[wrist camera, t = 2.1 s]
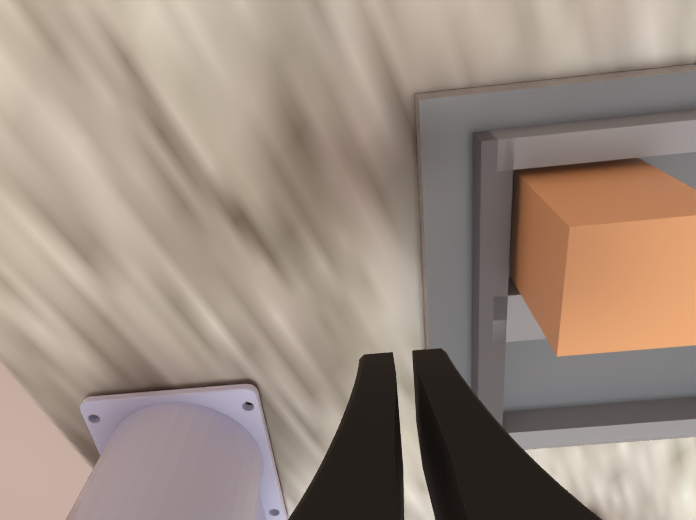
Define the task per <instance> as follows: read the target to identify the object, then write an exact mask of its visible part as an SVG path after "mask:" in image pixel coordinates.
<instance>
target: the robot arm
mask: <svg viewBox="0 0 696 520" xmlns="http://www.w3.org/2000/svg"><path fill="white" fill-rule="evenodd" d="M412 353H413V371H414V388H415V405H416V423H417V430H418V437H419V445H420V452H421V459H422V466H423V471H424V475H425V479H426V483H427V487H428V491H429V495H430V499H431V503H432V507H433V511H434V515H435V520H602V519H601V518H599V517H598V516H597V515H595V514H594V513H593V512H592V511H590V510H589V509H588V508H587V507H585V506H584V505H583V504H582V503H581V502H580V501H578V500H577V499H576V498H575V497H574V496H573V495H571V494H570V493H569V492H568V491H567V490H566V489H564V488H563V487H562V486H561V485H560V484H559V483H558V482H557V481H555V480H554V479H553V478H552V477H551V476H550V475H549V474H548V473H547V472H546V471H545V470H544V469H542V468H541V467H540V466H539V465H538V464H537V463H536V462H535V461H534V460H533V459H532V458H531V457H530V456H529V455H528V454H527V453H526V452H525V451H524V450H523V449H522V448H521V447H520V446H519V444H518V443H517V442H516V441H515V440H514V439H513V438H512V437H511V436H510V435H509V434H508V433H507V432H506V431H505V429H504V428H503V427H502V426H501V425H500V424H499V423H498V421H497V420H496V419H495V418H494V417H493V416H492V414H491V413H490V412H489V411H488V410H487V408H486V407H485V406H484V405H483V404H482V402H481V401H480V400H479V399H478V397H477V396H476V395H475V394H474V392H473V391H472V390H471V388H470V387H469V386H468V384H467V383H466V382H465V380H464V379H463V377H462V376H461V375H460V373H459V372H458V370H457V369H456V367H455V366H454V364H453V363H452V361H451V359H450V358H449V356H448V354H447V353H446V352H445V351H444V350H443V349H442V348H437V349H425V350H413V351H412ZM245 402H250V403H252V405H247V404H246V403H245ZM80 412H81V414H82V416H83V418H84V421H85V423H86V425H87V427H88V430H89V432H90V434H91V436H92V439H93V441H94V443H95V446H96V448H97V450H98V452H99V455H100V458H99V459H98V461H97V463H96V465H95V467H94V469H93V471H92V472H91V474H90V476H89V478H88V480H87V482H86V484H85V486H84V487H83V489H82V491H81V493H80V495H79V497H78V498H77V500H76V502H75V504H74V506H73V508H72V510H71V512H70V513H69V515H68V517H67V519H66V520H404V485H403V460H402V447H401V434H400V421H399V408H398V395H397V382H396V371H395V364H394V358H393V352H390V353H378V354H366V355H363V356H362V357H361V358H360V359H359V367H358V372H357V376H356V380H355V384H354V387H353V390H352V393H351V396H350V399H349V402H348V405H347V407H346V410H345V412H344V415H343V417H342V420H341V423H340V425H339V427H338V430H337V432H336V434H335V436H334V438H333V440H332V443H331V445H330V447H329V449H328V451H327V453H326V455H325V457H324V459H323V461H322V463H321V465H320V467H319V469H318V471H317V473H316V475H315V476H314V478H313V480H312V482H311V484H310V485H309V487H308V489H307V490H306V492H305V494H304V495H303V497H302V499H301V501H300V502H299V504H298V505H297V507H296V508H295V510H294V511H293V513H292V515H291V516H290V518H289V519H288V517H287V513H286V508H285V504H284V500H283V495H282V491H281V487H280V483H279V478H278V474H277V470H276V465H275V461H274V457H273V452H272V448H271V444H270V440H269V435H268V431H267V427H266V422H265V418H264V414H263V410H262V405H261V401H260V397H259V392H258V390H257V388H256V387H255V386H253V385H251V384H236V385H224V386H212V387H200V388H187V389H175V390H163V391H151V392H139V393H127V394H114V395H102V396H90V397H86V398H85V399H84V400H83V401H82V403H81V405H80ZM94 415H97V416H98V417H96V416H94Z"/></svg>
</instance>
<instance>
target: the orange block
mask: <svg viewBox="0 0 696 520" xmlns="http://www.w3.org/2000/svg"><path fill="white" fill-rule="evenodd" d="M510 277H511V279H512V280H513V282H514V284H515V285H516V287H517V289H518V291H519V292H520V294H521V296H522V297H523V299H524V301H525V303H526V304H527V306H528V308H529V310H530V311H531V313H532V315H533V316H534V318H535V320H536V322H537V323H538V325H539V327H540V328H541V330H542V332H543V334H544V335H545V337H546V339H547V340H548V342H549V344H550V346H551V347H552V349H553V351H554V352H555V354H556V356H557V357H559V356H571V355H583V354H595V353H607V352H619V351H632V350H644V349H656V348H668V347H680V346H692V345H696V190H695V189H694V188H692V187H690V186H688V185H686V184H685V183H683V182H681V181H679V180H677V179H676V178H674V177H672V176H670V175H668V174H667V173H665V172H663V171H661V170H659V169H657V168H656V167H654V166H652V165H650V164H648V163H647V162H645V161H643V160H641V159H639V158H629V159H619V160H609V161H599V162H588V163H578V164H568V165H558V166H548V167H538V168H528V169H517V170H514V186H513V209H512V232H511V255H510Z"/></svg>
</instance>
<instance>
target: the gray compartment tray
mask: <svg viewBox="0 0 696 520" xmlns="http://www.w3.org/2000/svg"><path fill="white" fill-rule="evenodd" d="M415 110H416V133H417V156H418V180H419V203H420V226H421V249H422V272H423V296H424V319H425V342H426V349H437V348H442V349H443V350H444V351H445V352H446V353H447V354H448V356H449V358H450V359H451V361H452V363H453V364H454V366H455V367H456V369H457V370H458V372H459V373H460V375H461V376H462V377H463V379H464V380H465V382H466V383H467V384H468V386H469V387H470V388H471V390H472V391H473V392H474V394H475V395H476V396H477V397H478V399H479V400H480V401H481V402H482V404H483V405H484V406H485V407H486V408H487V410H488V411H489V412H490V413H491V414H492V416H493V417H494V418H495V419H496V420H497V421H498V423H499V424H500V425H501V426H502V427H503V428H504V429H505V431H506V432H507V433H508V434H509V435H510V436H511V437H512V438H513V439H514V440H515V441H516V442H517V443H518V444H519V446H520V447H521V448H522V449H523V450H525V449H538V448H552V447H565V446H579V445H592V444H606V443H619V442H633V441H646V440H659V439H673V438H686V437H696V345H692V346H680V347H668V348H656V349H644V350H632V351H619V352H607V353H595V354H583V355H571V356H559V357H557V356H556V354H555V352H554V351H553V349H552V347H551V346H550V344H549V342H548V340H547V339H546V337H545V335H544V334H543V332H542V330H541V328H540V327H539V325H538V323H537V322H536V320H535V318H534V316H533V315H532V313H531V311H530V310H529V308H528V306H527V304H526V303H525V301H524V299H523V297H522V296H521V294H520V292H519V291H518V289H517V287H516V285H515V284H514V282H513V280H512V279H511V277H510V255H511V232H512V209H513V186H514V170H517V169H528V168H538V167H548V166H558V165H568V164H578V163H588V162H599V161H609V160H619V159H629V158H639V159H641V160H643V161H645V162H647V163H648V164H650V165H652V166H654V167H656V168H657V169H659V170H661V171H663V172H665V173H667V174H668V175H670V176H672V177H674V178H676V179H677V180H679V181H681V182H683V183H685V184H686V185H688V186H690V187H692V188H694V189H695V190H696V64H691V65H681V66H672V67H662V68H653V69H644V70H634V71H625V72H615V73H606V74H597V75H587V76H578V77H568V78H559V79H549V80H540V81H531V82H521V83H512V84H502V85H493V86H484V87H474V88H465V89H455V90H446V91H437V92H427V93H418V94H415Z"/></svg>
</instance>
